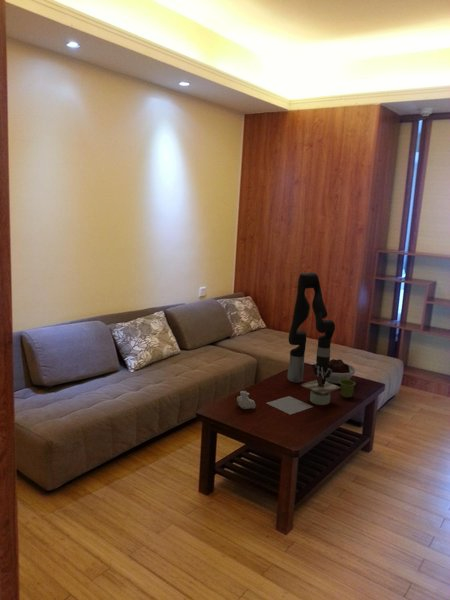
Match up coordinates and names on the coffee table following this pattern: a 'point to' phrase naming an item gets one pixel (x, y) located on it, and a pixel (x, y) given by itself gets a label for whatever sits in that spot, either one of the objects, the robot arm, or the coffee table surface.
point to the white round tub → (339, 371)
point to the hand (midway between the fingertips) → (321, 383)
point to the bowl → (319, 398)
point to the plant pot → (347, 388)
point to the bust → (245, 401)
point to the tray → (289, 405)
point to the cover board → (320, 386)
